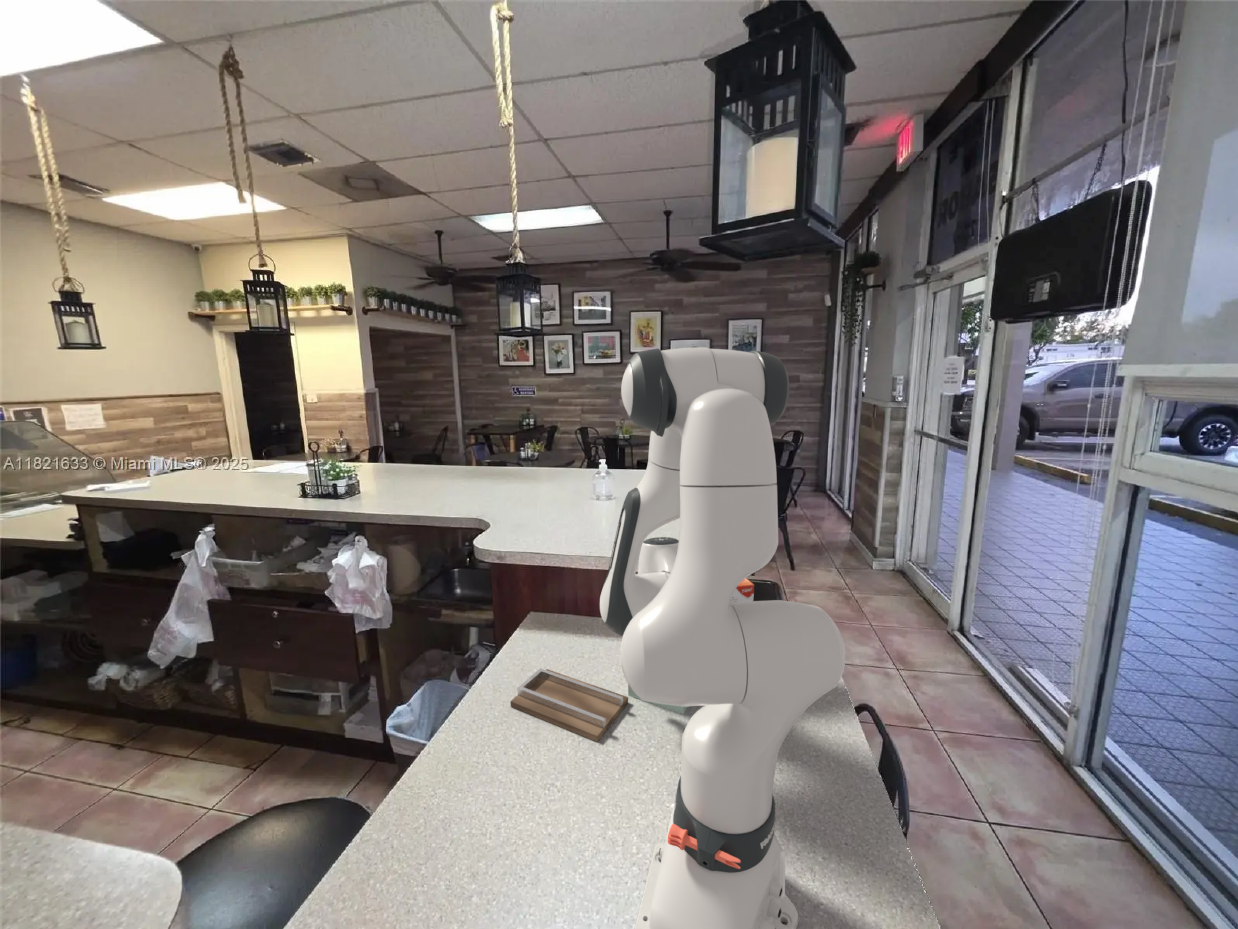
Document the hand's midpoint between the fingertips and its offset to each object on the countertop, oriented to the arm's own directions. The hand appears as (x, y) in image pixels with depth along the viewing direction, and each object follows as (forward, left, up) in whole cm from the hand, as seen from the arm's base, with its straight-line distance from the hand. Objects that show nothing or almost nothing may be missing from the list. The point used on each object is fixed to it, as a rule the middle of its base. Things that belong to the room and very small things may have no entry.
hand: (659, 679), depth 99 cm
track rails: (-10, +15, -3) cm, 18 cm away
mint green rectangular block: (0, 0, -4) cm, 4 cm away
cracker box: (+15, -7, -5) cm, 17 cm away
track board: (-10, +15, -4) cm, 19 cm away
